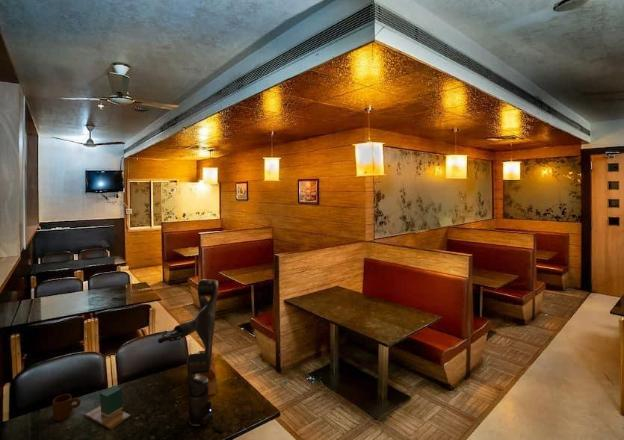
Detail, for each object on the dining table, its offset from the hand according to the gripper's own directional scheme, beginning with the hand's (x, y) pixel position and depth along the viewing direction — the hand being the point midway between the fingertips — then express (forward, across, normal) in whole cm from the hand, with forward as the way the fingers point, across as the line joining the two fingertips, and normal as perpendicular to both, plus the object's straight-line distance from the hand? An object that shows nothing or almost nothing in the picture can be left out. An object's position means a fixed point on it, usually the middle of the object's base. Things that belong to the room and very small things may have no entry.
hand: (159, 341), depth 184 cm
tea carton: (+22, -8, +24) cm, 33 cm away
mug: (+33, -25, +30) cm, 51 cm away
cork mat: (+24, -8, +30) cm, 39 cm away
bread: (-19, +13, +30) cm, 38 cm away
